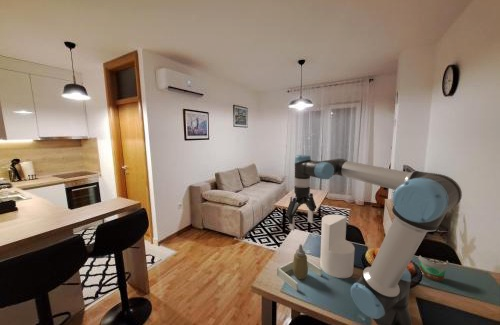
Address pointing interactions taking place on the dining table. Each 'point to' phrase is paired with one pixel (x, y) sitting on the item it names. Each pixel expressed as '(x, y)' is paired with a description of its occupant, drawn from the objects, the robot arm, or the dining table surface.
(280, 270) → the cream u-shaped frame
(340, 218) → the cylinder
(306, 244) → the dining table surface
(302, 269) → the squeeze bottle
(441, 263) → the food container
